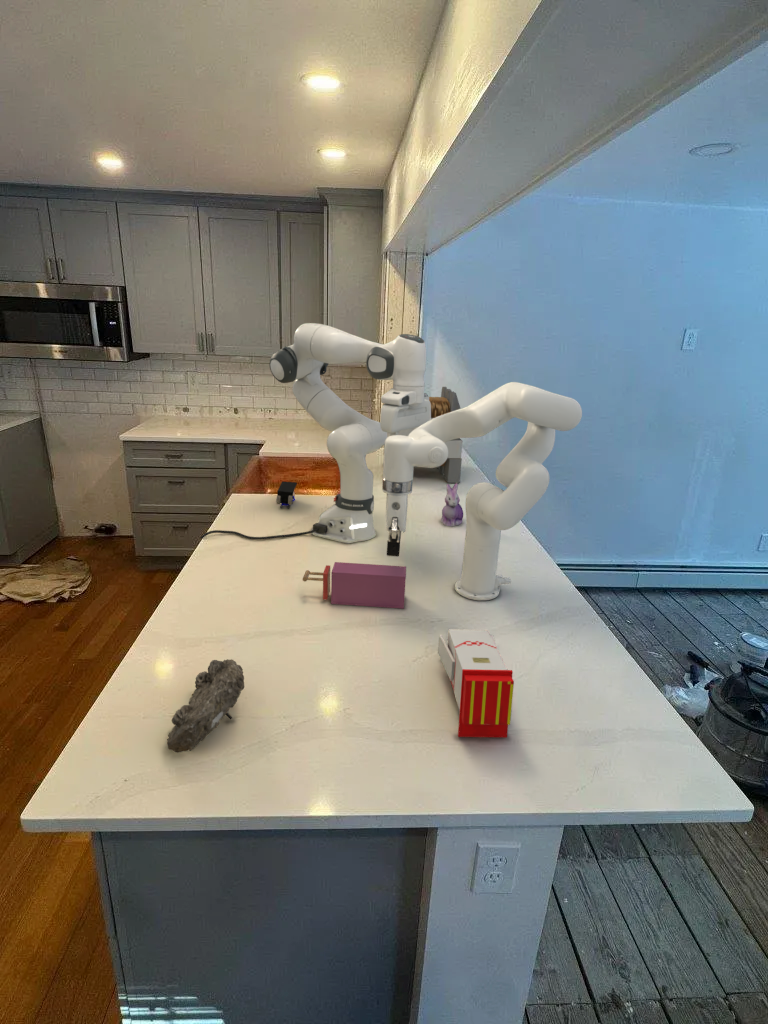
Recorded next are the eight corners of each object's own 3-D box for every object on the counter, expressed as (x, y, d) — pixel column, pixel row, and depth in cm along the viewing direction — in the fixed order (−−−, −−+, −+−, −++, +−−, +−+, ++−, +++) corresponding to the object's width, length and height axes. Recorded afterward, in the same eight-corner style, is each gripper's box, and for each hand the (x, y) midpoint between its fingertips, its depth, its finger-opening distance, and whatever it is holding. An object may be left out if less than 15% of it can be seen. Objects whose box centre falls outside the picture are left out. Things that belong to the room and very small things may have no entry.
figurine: (448, 528, 206) (452, 489, 201) (433, 519, 215) (436, 481, 210) (470, 525, 210) (473, 486, 205) (454, 516, 219) (457, 479, 214)
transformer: (382, 463, 289) (386, 382, 275) (445, 464, 293) (451, 384, 279) (390, 482, 257) (394, 392, 243) (460, 483, 261) (468, 394, 247)
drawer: (302, 598, 152) (302, 572, 149) (305, 589, 156) (305, 563, 154) (391, 604, 151) (393, 577, 148) (392, 594, 155) (393, 569, 153)
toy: (488, 613, 130) (523, 677, 101) (484, 667, 133) (517, 744, 104) (435, 612, 130) (455, 676, 101) (432, 666, 133) (451, 743, 103)
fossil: (192, 660, 117) (244, 628, 112) (224, 691, 120) (276, 661, 115) (142, 746, 98) (202, 712, 93) (182, 779, 101) (242, 748, 96)
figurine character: (293, 513, 218) (297, 497, 231) (292, 495, 215) (297, 480, 228) (275, 513, 218) (281, 496, 231) (274, 495, 214) (280, 479, 228)
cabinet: (331, 604, 151) (331, 572, 148) (334, 592, 157) (334, 561, 154) (403, 608, 150) (405, 576, 147) (404, 597, 156) (406, 566, 153)
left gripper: (420, 390, 168) (417, 436, 173) (377, 397, 153) (375, 447, 158) (437, 393, 165) (434, 440, 170) (395, 400, 149) (393, 451, 154)
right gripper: (412, 496, 134) (407, 562, 140) (412, 476, 150) (408, 536, 156) (380, 495, 134) (377, 560, 140) (384, 475, 150) (381, 534, 156)
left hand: (405, 443), depth 163 cm, fingers open, 8 cm apart
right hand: (393, 547), depth 148 cm, fingers open, 9 cm apart
